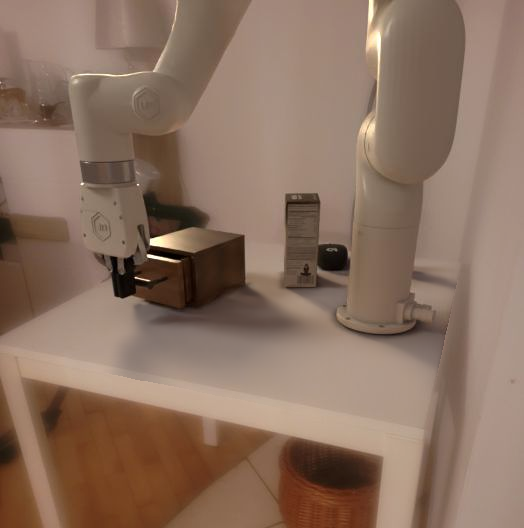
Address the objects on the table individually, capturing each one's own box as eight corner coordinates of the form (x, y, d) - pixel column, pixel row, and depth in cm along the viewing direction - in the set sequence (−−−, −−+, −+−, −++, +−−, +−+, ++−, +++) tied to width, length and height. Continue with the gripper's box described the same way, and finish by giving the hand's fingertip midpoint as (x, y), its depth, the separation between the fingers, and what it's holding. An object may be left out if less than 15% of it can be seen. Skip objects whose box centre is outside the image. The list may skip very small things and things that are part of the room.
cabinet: (197, 307, 84) (194, 252, 80) (144, 294, 90) (138, 242, 86) (245, 284, 95) (244, 234, 91) (195, 273, 101) (192, 226, 97)
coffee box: (283, 273, 101) (284, 192, 94) (314, 273, 101) (317, 192, 94) (283, 287, 93) (285, 200, 86) (317, 287, 93) (322, 200, 86)
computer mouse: (314, 271, 102) (315, 252, 101) (311, 255, 113) (311, 238, 111) (350, 271, 102) (352, 252, 100) (343, 255, 113) (344, 238, 111)
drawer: (161, 317, 78) (156, 270, 74) (111, 304, 83) (104, 259, 80) (228, 286, 91) (227, 244, 88) (182, 275, 97) (179, 236, 93)
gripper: (53, 173, 70) (75, 293, 78) (127, 180, 63) (142, 312, 71) (94, 168, 76) (110, 281, 84) (166, 174, 69) (177, 297, 77)
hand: (125, 295), depth 78 cm, fingers closed
